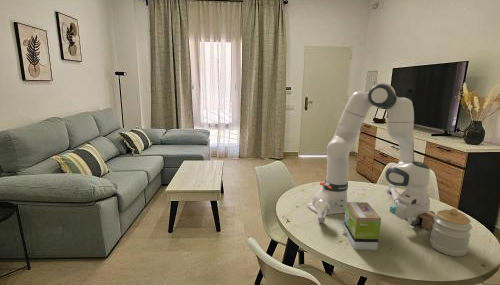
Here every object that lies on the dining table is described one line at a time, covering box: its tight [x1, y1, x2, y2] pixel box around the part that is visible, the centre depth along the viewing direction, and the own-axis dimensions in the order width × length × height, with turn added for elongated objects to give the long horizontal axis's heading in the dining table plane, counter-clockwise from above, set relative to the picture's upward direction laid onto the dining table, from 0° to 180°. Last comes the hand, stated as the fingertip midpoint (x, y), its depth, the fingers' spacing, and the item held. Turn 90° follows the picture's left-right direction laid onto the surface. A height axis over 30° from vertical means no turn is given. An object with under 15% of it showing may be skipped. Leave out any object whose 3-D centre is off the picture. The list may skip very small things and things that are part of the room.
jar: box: [429, 208, 473, 257], centre depth 115 cm, size 13×13×18 cm
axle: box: [409, 210, 436, 226], centre depth 139 cm, size 16×4×4 cm, turn 117°
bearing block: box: [404, 212, 437, 231], centre depth 137 cm, size 8×12×5 cm, turn 27°
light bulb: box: [315, 199, 330, 224], centre depth 135 cm, size 7×7×12 cm
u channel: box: [389, 204, 397, 215], centre depth 149 cm, size 10×6×3 cm, turn 117°
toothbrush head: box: [386, 183, 400, 205], centre depth 166 cm, size 5×7×25 cm
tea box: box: [343, 201, 382, 251], centre depth 120 cm, size 15×10×15 cm, turn 178°
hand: (411, 223), depth 134 cm, fingers closed
